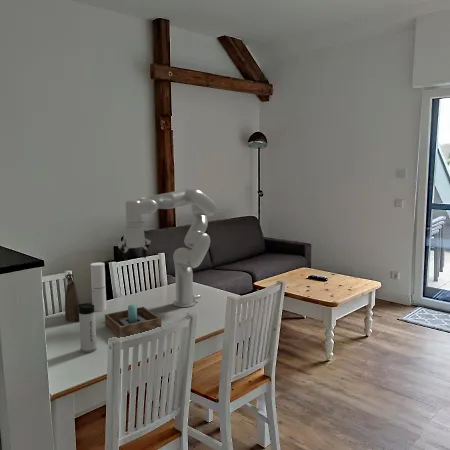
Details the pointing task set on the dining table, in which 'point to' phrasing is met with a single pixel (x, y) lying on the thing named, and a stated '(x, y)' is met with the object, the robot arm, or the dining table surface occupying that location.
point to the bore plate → (126, 321)
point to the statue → (71, 301)
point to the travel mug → (87, 327)
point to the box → (131, 329)
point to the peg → (132, 313)
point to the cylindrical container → (98, 286)
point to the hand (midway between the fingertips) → (135, 258)
